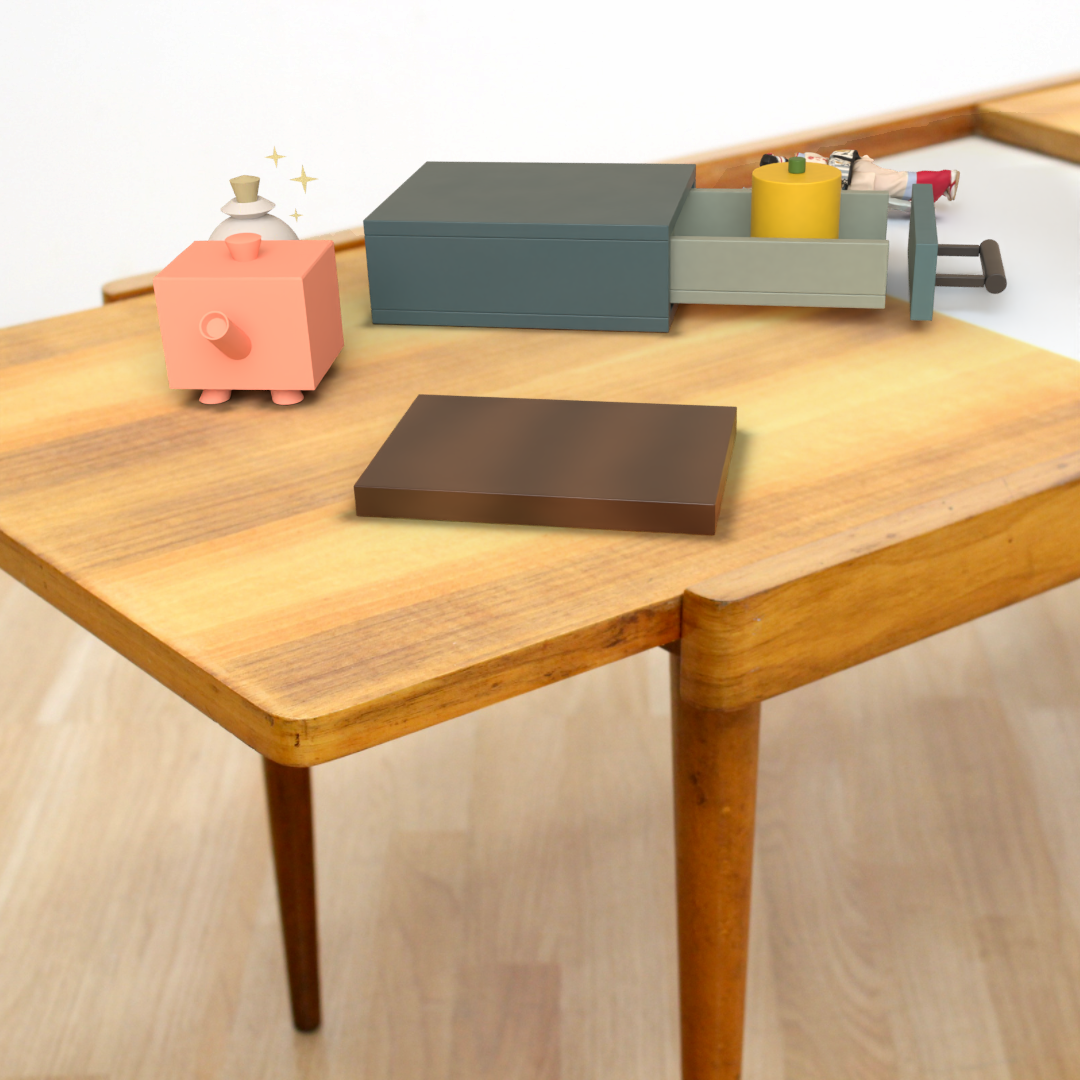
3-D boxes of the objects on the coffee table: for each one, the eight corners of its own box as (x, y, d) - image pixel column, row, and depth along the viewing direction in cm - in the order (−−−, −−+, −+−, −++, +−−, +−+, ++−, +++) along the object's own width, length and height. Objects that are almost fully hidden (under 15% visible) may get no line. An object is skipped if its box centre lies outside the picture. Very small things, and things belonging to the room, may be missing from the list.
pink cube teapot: (151, 431, 79) (125, 274, 75) (222, 349, 90) (202, 208, 86) (300, 433, 78) (282, 274, 74) (354, 350, 89) (340, 207, 85)
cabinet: (695, 259, 102) (696, 163, 99) (668, 332, 89) (668, 225, 86) (433, 254, 105) (426, 161, 102) (372, 324, 93) (362, 220, 90)
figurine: (941, 204, 114) (738, 180, 115) (964, 149, 106) (745, 124, 107) (933, 280, 113) (727, 255, 114) (955, 230, 105) (734, 204, 106)
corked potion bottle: (222, 295, 99) (201, 137, 94) (338, 292, 98) (322, 133, 94) (201, 326, 93) (177, 160, 89) (324, 323, 93) (306, 156, 88)
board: (736, 434, 76) (737, 406, 75) (714, 536, 66) (715, 504, 66) (420, 421, 79) (418, 393, 78) (356, 516, 69) (353, 485, 69)
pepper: (838, 251, 95) (843, 148, 92) (835, 277, 90) (841, 169, 88) (753, 249, 96) (755, 147, 93) (746, 275, 91) (748, 168, 89)
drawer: (994, 254, 97) (1000, 184, 95) (1008, 323, 86) (1016, 245, 84) (665, 247, 101) (665, 180, 99) (637, 312, 90) (636, 238, 88)
